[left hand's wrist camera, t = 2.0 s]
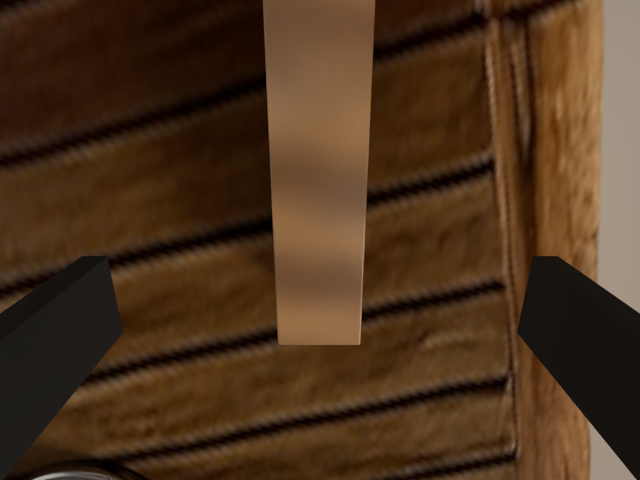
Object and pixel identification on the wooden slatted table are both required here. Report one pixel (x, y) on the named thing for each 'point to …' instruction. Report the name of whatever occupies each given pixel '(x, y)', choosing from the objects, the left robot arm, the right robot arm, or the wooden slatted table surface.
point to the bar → (319, 163)
